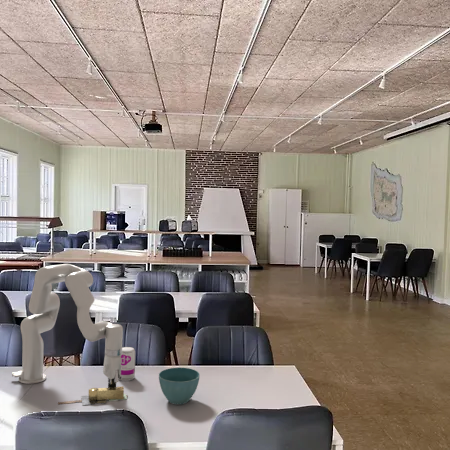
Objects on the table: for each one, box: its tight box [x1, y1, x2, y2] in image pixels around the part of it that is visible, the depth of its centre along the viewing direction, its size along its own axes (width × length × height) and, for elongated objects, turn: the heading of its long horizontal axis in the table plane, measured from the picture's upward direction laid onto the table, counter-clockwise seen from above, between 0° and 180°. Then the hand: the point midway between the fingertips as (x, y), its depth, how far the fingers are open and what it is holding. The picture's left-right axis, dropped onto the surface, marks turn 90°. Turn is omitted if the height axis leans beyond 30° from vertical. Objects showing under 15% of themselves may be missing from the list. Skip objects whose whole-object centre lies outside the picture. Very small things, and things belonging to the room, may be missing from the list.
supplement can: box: [118, 346, 136, 382], centre depth 247 cm, size 8×8×15 cm
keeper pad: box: [108, 393, 128, 402], centre depth 223 cm, size 8×6×1 cm
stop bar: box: [88, 385, 125, 401], centre depth 220 cm, size 15×4×4 cm, turn 103°
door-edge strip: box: [57, 394, 128, 405], centre depth 219 cm, size 30×2×1 cm, turn 110°
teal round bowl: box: [158, 367, 200, 405], centre depth 221 cm, size 18×18×12 cm
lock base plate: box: [80, 394, 107, 406], centre depth 219 cm, size 10×10×1 cm
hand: (111, 391), depth 225 cm, fingers closed
